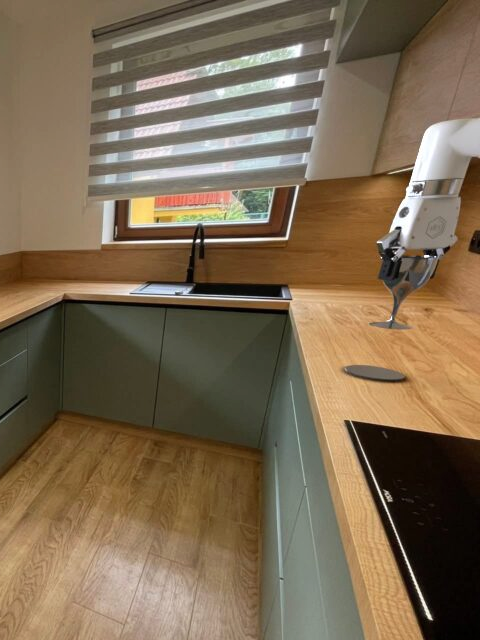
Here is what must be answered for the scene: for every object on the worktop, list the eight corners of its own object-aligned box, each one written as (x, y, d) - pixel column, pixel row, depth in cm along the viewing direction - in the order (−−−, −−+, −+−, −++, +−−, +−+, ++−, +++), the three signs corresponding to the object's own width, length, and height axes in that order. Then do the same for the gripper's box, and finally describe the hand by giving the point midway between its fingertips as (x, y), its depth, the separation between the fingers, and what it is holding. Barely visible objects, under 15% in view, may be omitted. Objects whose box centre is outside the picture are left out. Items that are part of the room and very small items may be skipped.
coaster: (372, 366, 105) (373, 363, 105) (417, 380, 95) (418, 377, 95) (332, 368, 104) (333, 366, 104) (373, 383, 95) (373, 380, 94)
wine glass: (358, 321, 100) (377, 255, 95) (398, 322, 99) (419, 254, 94) (381, 329, 93) (403, 258, 88) (425, 330, 92) (449, 257, 86)
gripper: (411, 191, 82) (383, 283, 88) (495, 187, 83) (462, 279, 89) (374, 193, 89) (351, 278, 95) (452, 190, 90) (424, 275, 96)
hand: (405, 278), depth 92 cm, fingers closed on wine glass, 8 cm apart
